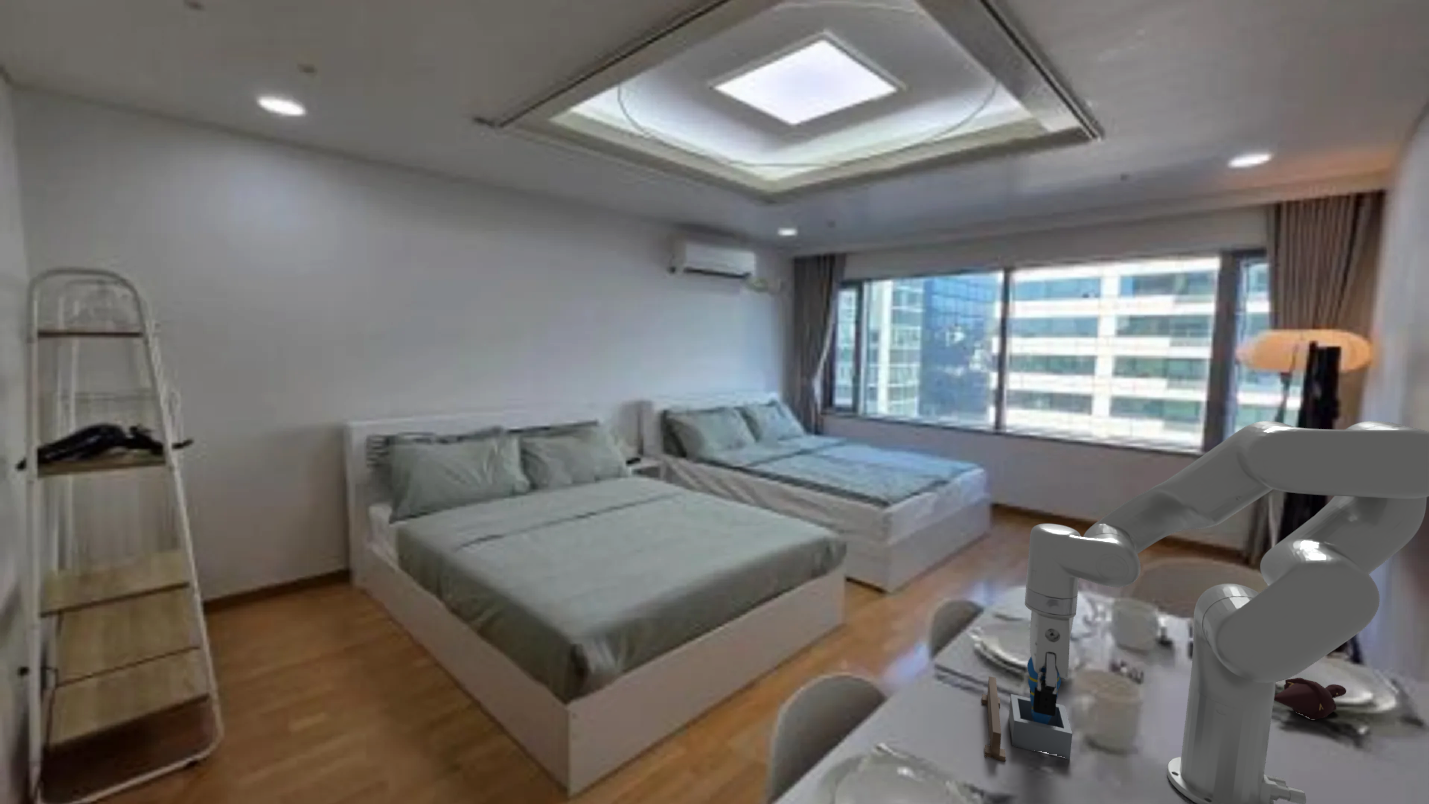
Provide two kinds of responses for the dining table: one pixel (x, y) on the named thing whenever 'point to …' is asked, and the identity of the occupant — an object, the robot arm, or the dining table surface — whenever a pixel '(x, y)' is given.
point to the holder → (1039, 729)
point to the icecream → (1309, 697)
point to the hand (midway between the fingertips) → (1041, 703)
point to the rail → (993, 722)
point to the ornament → (1033, 683)
